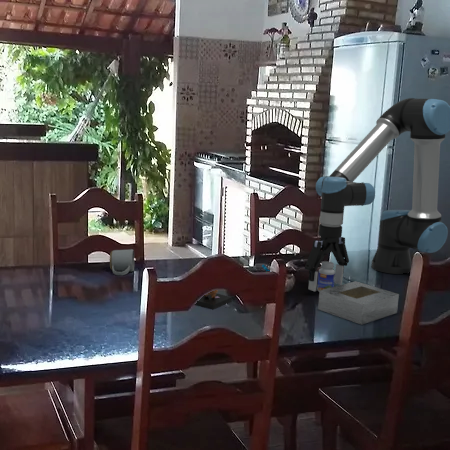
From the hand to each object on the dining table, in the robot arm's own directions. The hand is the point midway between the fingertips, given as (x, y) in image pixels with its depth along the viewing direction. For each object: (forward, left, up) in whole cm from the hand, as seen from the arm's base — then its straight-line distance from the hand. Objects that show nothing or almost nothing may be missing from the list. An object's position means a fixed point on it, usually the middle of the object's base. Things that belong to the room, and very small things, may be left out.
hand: (325, 287), depth 214 cm
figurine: (+40, -13, -2) cm, 42 cm away
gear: (+11, -14, -2) cm, 18 cm away
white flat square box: (+8, +19, -1) cm, 21 cm away
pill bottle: (0, 0, -2) cm, 2 cm away
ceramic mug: (+43, -55, -2) cm, 70 cm away
